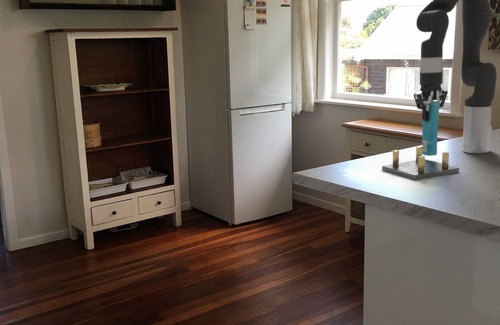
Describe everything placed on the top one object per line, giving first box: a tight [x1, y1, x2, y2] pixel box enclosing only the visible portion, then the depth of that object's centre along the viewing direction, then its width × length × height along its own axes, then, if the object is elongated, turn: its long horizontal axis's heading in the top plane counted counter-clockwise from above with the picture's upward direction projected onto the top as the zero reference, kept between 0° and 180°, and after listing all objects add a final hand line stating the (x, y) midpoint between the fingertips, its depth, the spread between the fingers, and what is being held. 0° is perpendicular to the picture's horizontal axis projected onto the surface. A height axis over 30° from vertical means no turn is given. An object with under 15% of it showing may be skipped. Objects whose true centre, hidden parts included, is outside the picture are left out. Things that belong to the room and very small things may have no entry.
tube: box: [421, 101, 441, 157], centre depth 188 cm, size 7×5×19 cm, turn 39°
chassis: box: [381, 146, 460, 181], centre depth 176 cm, size 18×16×6 cm
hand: (430, 120), depth 188 cm, fingers closed on tube, 3 cm apart
